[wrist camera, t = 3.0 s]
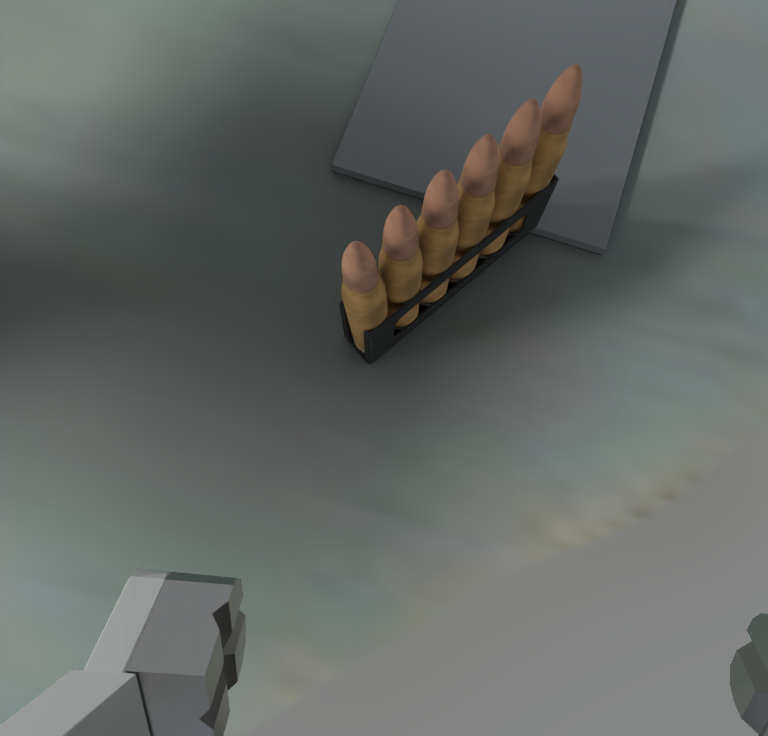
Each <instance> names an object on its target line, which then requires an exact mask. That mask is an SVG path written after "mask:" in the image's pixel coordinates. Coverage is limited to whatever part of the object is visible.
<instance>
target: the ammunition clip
mask: <svg viewBox="0 0 768 736" xmlns="http://www.w3.org/2000/svg"><path fill="white" fill-rule="evenodd" d="M582 82H583V76H582V71H581V67H580V65H579V64H573V65H571V66H570V67H568V68H567V69H566V70H565V71H563V72H562V74H561V75H560V76H559V77H558V78H557V79H556V81H555V82H554V83H553V85H552V86H551V88H550V90H549V92H548V93H547V95H546V97H545V99H544V101H543V103H542V105H541V108H540V107H539V104H538V102H537V100H536V99H530V100H528V101H526V102H525V103H524V104H522V105H521V106H520V107H519V109H518V110H517V111H516V112H515V114H514V115H513V117H512V118H511V120H510V122H509V124H508V125H507V127H506V129H505V131H504V134H503V137H502V140H501V142H500V144H499V146H498V145H497V142H496V140H495V138H494V137H493V136H492V135H491V134H487V135H484V136H483V137H481V138H480V139H479V140H478V141H477V142H476V143H475V145H474V146H473V148H472V149H471V151H470V153H469V154H468V156H467V159H466V161H465V163H464V167H463V171H462V174H461V176H460V179H459V183H458V185H457V183H456V180H455V177H454V176H453V174H452V173H451V172H450V171H449V170H447V169H443V170H441V171H439V172H438V173H437V174H436V175H435V176H434V177H433V179H432V180H431V182H430V184H429V185H428V187H427V190H426V193H425V196H424V201H423V206H422V210H421V215H420V217H419V218H418V220H417V222H416V220H415V218H414V216H413V214H412V213H411V211H410V210H409V209H408V208H407V207H406V206H404V205H398V206H396V207H395V208H393V209H392V211H391V212H390V214H389V215H388V217H387V219H386V222H385V226H384V231H383V242H382V248H381V250H380V253H379V258H378V267H379V270H378V267H377V262H376V260H375V257H374V255H373V254H372V252H371V251H370V249H369V248H368V247H367V246H366V245H365V244H363V243H362V242H359V241H353V242H351V243H350V244H349V245H348V246H347V248H346V250H345V251H344V254H343V258H342V274H343V275H342V279H343V282H342V287H341V294H342V299H343V300H342V301H341V302H340V303H339V305H340V311H341V317H342V323H343V328H344V334H345V338H346V339H347V340H348V341H349V342H350V344H351V345H352V346H353V347H354V348H355V349H356V351H357V352H358V353H359V354H360V355H361V356H362V358H363V359H364V360H365V361H366V362H367V363H368V364H371V363H373V362H375V361H376V360H377V359H378V358H379V357H381V356H382V355H383V354H384V353H385V352H387V351H388V350H389V349H390V348H391V347H393V346H394V345H395V344H396V343H397V342H399V341H400V340H401V339H402V338H403V337H405V336H406V335H407V334H408V333H409V332H411V331H412V330H413V329H414V328H415V327H417V326H418V325H419V324H420V323H421V322H423V321H424V320H425V319H426V318H427V317H429V316H430V315H431V314H432V313H433V312H435V311H436V310H437V309H438V308H439V307H441V306H442V305H443V304H444V303H445V302H447V301H448V300H449V299H450V298H451V297H453V296H454V295H455V294H456V293H457V292H459V291H460V290H461V289H462V288H463V287H465V286H466V285H467V284H468V283H469V282H471V281H472V280H473V279H474V278H475V277H477V276H478V275H479V274H480V273H481V272H483V271H484V270H485V269H486V268H487V267H489V266H490V265H491V264H492V263H493V262H495V261H496V260H497V259H498V258H499V257H501V256H502V255H503V254H504V253H505V252H507V251H508V250H509V249H510V248H511V247H513V246H514V245H515V244H516V243H517V242H519V241H520V240H521V239H522V238H523V237H524V236H526V235H527V234H528V233H529V232H530V231H532V230H533V229H534V228H535V227H536V226H537V225H538V223H539V221H540V219H541V217H542V214H543V212H544V210H545V208H546V206H547V204H548V202H549V200H550V197H551V195H552V193H553V191H554V189H555V187H556V185H557V183H558V181H559V179H558V177H557V176H556V175H555V174H554V173H555V171H556V169H557V167H558V164H559V162H560V160H561V158H562V156H563V154H564V152H565V150H566V146H567V139H568V134H569V131H570V128H571V126H572V122H573V119H574V117H575V114H576V112H577V109H578V106H579V102H580V98H581V92H582Z"/></svg>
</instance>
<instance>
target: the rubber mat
mask: <svg viewBox="0 0 768 736" xmlns="http://www.w3.org/2000/svg"><path fill="white" fill-rule="evenodd" d="M676 1H677V0H398V3H397V5H396V8H395V10H394V13H393V15H392V18H391V20H390V22H389V25H388V27H387V30H386V32H385V35H384V37H383V40H382V42H381V45H380V47H379V49H378V52H377V54H376V57H375V59H374V62H373V64H372V67H371V69H370V72H369V74H368V76H367V79H366V81H365V84H364V86H363V89H362V91H361V94H360V96H359V99H358V101H357V103H356V106H355V108H354V111H353V113H352V116H351V118H350V121H349V123H348V126H347V128H346V130H345V133H344V135H343V138H342V140H341V143H340V145H339V148H338V150H337V153H336V155H335V157H334V160H333V162H332V171H334V172H337V173H340V174H344V175H347V176H350V177H353V178H356V179H360V180H363V181H366V182H369V183H373V184H376V185H379V186H382V187H385V188H389V189H392V190H395V191H398V192H402V193H405V194H408V195H411V196H414V197H418V198H421V199H424V196H425V193H426V190H427V187H428V185H429V184H430V182H431V180H432V179H433V177H434V176H435V175H436V174H437V173H438V172H439V171H441V170H443V169H447V170H449V171H450V172H451V173H452V174H453V176H454V177H455V180H456V183H457V185H458V183H459V179H460V176H461V174H462V171H463V167H464V163H465V161H466V159H467V156H468V154H469V153H470V151H471V149H472V148H473V146H474V145H475V143H476V142H477V141H478V140H479V139H480V138H481V137H483V136H484V135H487V134H491V135H492V136H493V137H494V138H495V140H496V142H497V145H498V146H499V144H500V142H501V140H502V137H503V134H504V131H505V129H506V127H507V125H508V124H509V122H510V120H511V118H512V117H513V115H514V114H515V112H516V111H517V110H518V109H519V107H520V106H521V105H522V104H524V103H525V102H526V101H528V100H530V99H536V100H537V102H538V104H539V107H540V108H541V105H542V103H543V101H544V99H545V97H546V95H547V93H548V92H549V90H550V88H551V86H552V85H553V83H554V82H555V81H556V79H557V78H558V77H559V76H560V75H561V74H562V72H563V71H565V70H566V69H567V68H568V67H570V66H571V65H573V64H579V65H580V67H581V71H582V76H583V82H582V92H581V98H580V102H579V106H578V109H577V112H576V114H575V117H574V119H573V122H572V126H571V128H570V131H569V134H568V139H567V146H566V150H565V152H564V154H563V156H562V158H561V160H560V162H559V164H558V167H557V169H556V171H555V173H554V174H555V175H556V176H557V177H558V179H559V181H558V183H557V185H556V187H555V189H554V191H553V193H552V195H551V197H550V200H549V202H548V204H547V206H546V208H545V210H544V212H543V214H542V217H541V219H540V221H539V223H538V225H537V226H536V227H535V228H534V229H533V230H532V231H530V233H534V234H537V235H540V236H543V237H547V238H550V239H553V240H556V241H559V242H563V243H566V244H569V245H572V246H575V247H579V248H582V249H585V250H588V251H592V252H595V253H598V254H601V255H602V254H603V253H604V252H605V251H606V249H607V245H608V242H609V238H610V234H611V231H612V227H613V224H614V220H615V217H616V213H617V210H618V206H619V203H620V199H621V196H622V192H623V189H624V185H625V181H626V178H627V174H628V171H629V167H630V164H631V160H632V157H633V153H634V150H635V146H636V143H637V139H638V136H639V132H640V128H641V125H642V121H643V118H644V114H645V111H646V107H647V104H648V100H649V97H650V93H651V90H652V86H653V83H654V79H655V75H656V72H657V68H658V65H659V61H660V58H661V54H662V51H663V47H664V44H665V40H666V37H667V33H668V30H669V26H670V22H671V19H672V15H673V12H674V8H675V5H676Z"/></svg>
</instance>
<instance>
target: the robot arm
mask: <svg viewBox="0 0 768 736" xmlns="http://www.w3.org/2000/svg"><path fill="white" fill-rule="evenodd" d="M242 597H243V591H242V583H241V579H238V578H230V577H220V576H209V575H199V574H189V573H178V572H165V571H153V570H141V569H137V570H136V571H135V572H134V573H133V574H132V575H131V576H130V577H129V579H128V581H127V583H126V585H125V587H124V589H123V591H122V593H121V595H120V597H119V599H118V601H117V603H116V605H115V607H114V609H113V611H112V613H111V615H110V617H109V619H108V621H107V623H106V625H105V627H104V629H103V631H102V633H101V635H100V637H99V639H98V641H97V643H96V645H95V648H94V650H93V652H92V654H91V656H90V658H89V660H88V662H87V664H86V666H85V668H84V669H72V670H71V671H70V672H68V673H67V674H66V675H65V676H63V677H62V678H61V679H59V680H58V681H57V682H55V683H54V684H53V685H52V686H50V687H49V688H48V689H46V690H45V691H44V692H43V693H41V694H40V695H39V696H37V697H36V698H35V699H33V700H32V701H31V702H30V703H28V704H27V705H26V706H24V707H23V708H22V709H20V710H19V711H18V712H17V713H15V714H14V715H13V716H11V717H10V718H9V719H8V720H6V721H5V722H4V723H2V724H1V725H0V736H223V735H224V731H225V728H226V724H227V720H228V717H229V713H230V708H229V699H228V690H229V689H230V688H231V687H232V686H234V685H235V684H236V683H237V682H238V678H239V674H240V670H241V666H242V662H243V655H244V648H245V641H246V621H245V615H244V614H243V613H242V612H241V611H240V610H239V608H240V604H241V600H242ZM747 631H748V633H749V635H750V637H751V639H752V642H750V643H748V644H746V645H745V646H743V647H741V648H740V649H738V650H737V651H736V653H735V656H734V658H733V660H732V663H731V665H730V686H731V691H732V695H733V699H734V702H735V705H736V707H737V709H738V712H739V714H740V717H741V718H742V720H744V721H745V722H746V723H747V724H748V725H749V726H750V727H751V728H752V729H753V730H754V731H756V732H757V733H758V734H759V736H768V614H760V615H758V616H756V617H755V618H753V619H752V621H751V623H750V625H749V627H748V629H747Z"/></svg>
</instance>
